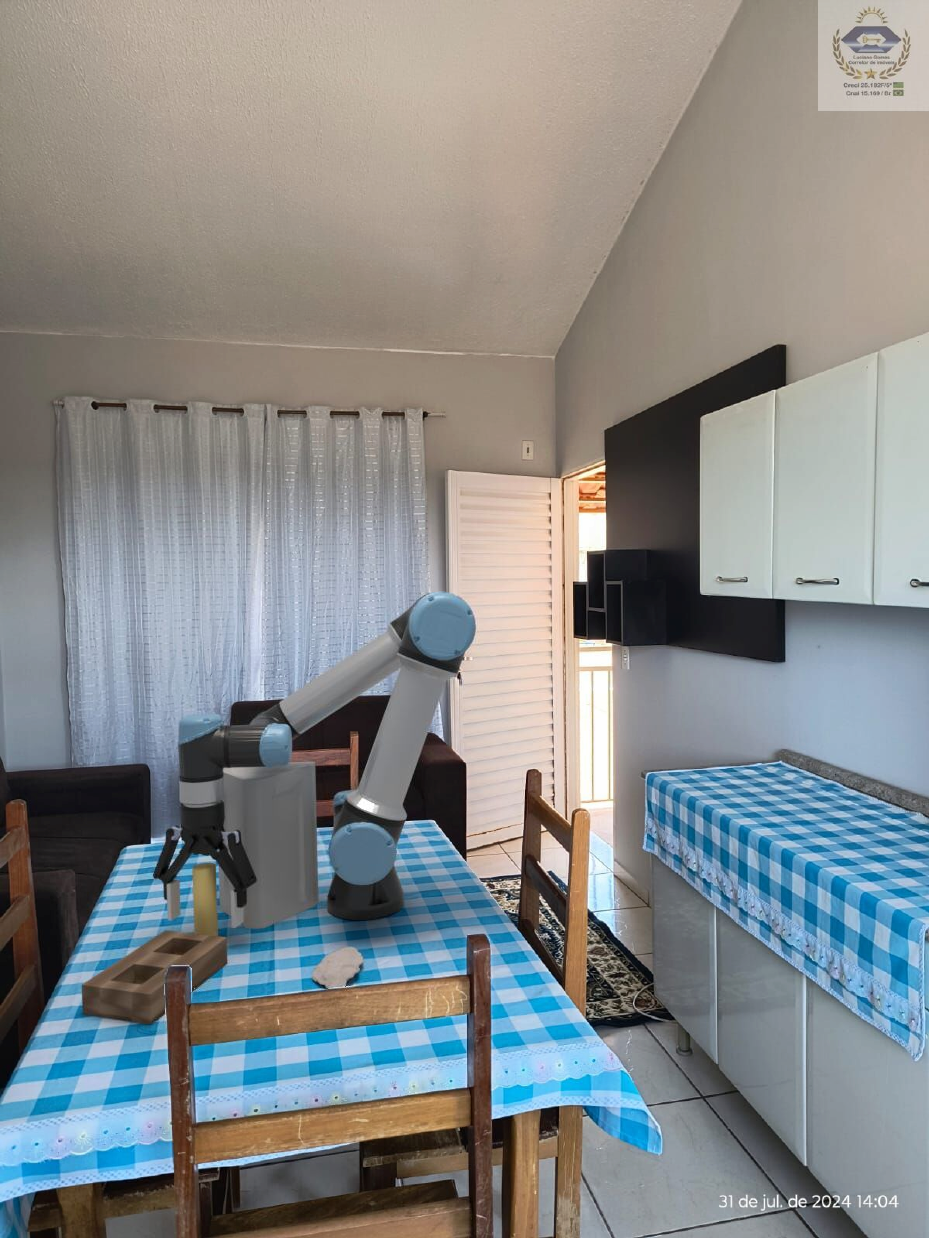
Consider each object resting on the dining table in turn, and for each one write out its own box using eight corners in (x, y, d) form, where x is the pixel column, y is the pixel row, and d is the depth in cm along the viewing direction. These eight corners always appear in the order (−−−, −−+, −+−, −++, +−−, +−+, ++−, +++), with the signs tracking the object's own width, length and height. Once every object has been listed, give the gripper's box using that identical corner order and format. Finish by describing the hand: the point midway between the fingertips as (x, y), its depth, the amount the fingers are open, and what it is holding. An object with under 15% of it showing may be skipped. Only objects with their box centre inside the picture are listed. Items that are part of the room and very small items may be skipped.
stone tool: (362, 996, 126) (363, 959, 141) (362, 976, 126) (364, 941, 141) (308, 997, 125) (315, 960, 140) (309, 977, 125) (316, 942, 140)
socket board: (227, 963, 138) (226, 937, 138) (151, 1024, 119) (150, 994, 119) (166, 955, 141) (165, 930, 141) (82, 1014, 122) (81, 984, 122)
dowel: (222, 940, 147) (220, 863, 147) (209, 949, 143) (207, 871, 143) (203, 937, 148) (200, 861, 148) (190, 947, 145) (187, 869, 144)
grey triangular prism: (203, 930, 152) (199, 780, 151) (225, 899, 167) (221, 763, 166) (306, 927, 152) (302, 778, 151) (319, 897, 167) (315, 761, 166)
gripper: (274, 800, 145) (277, 919, 146) (156, 792, 152) (160, 906, 153) (252, 811, 138) (255, 936, 139) (129, 803, 145) (133, 922, 145)
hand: (205, 921), depth 146 cm, fingers open, 12 cm apart
